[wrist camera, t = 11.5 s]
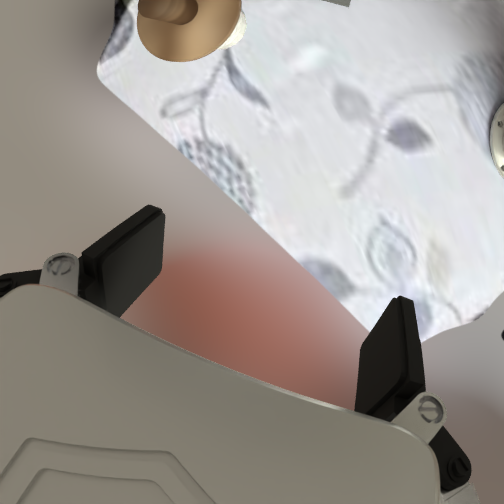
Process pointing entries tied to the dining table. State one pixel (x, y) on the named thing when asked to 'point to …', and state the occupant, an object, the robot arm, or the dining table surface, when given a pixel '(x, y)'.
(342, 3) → the mat
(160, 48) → the lid
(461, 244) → the dining table surface
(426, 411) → the robot arm
